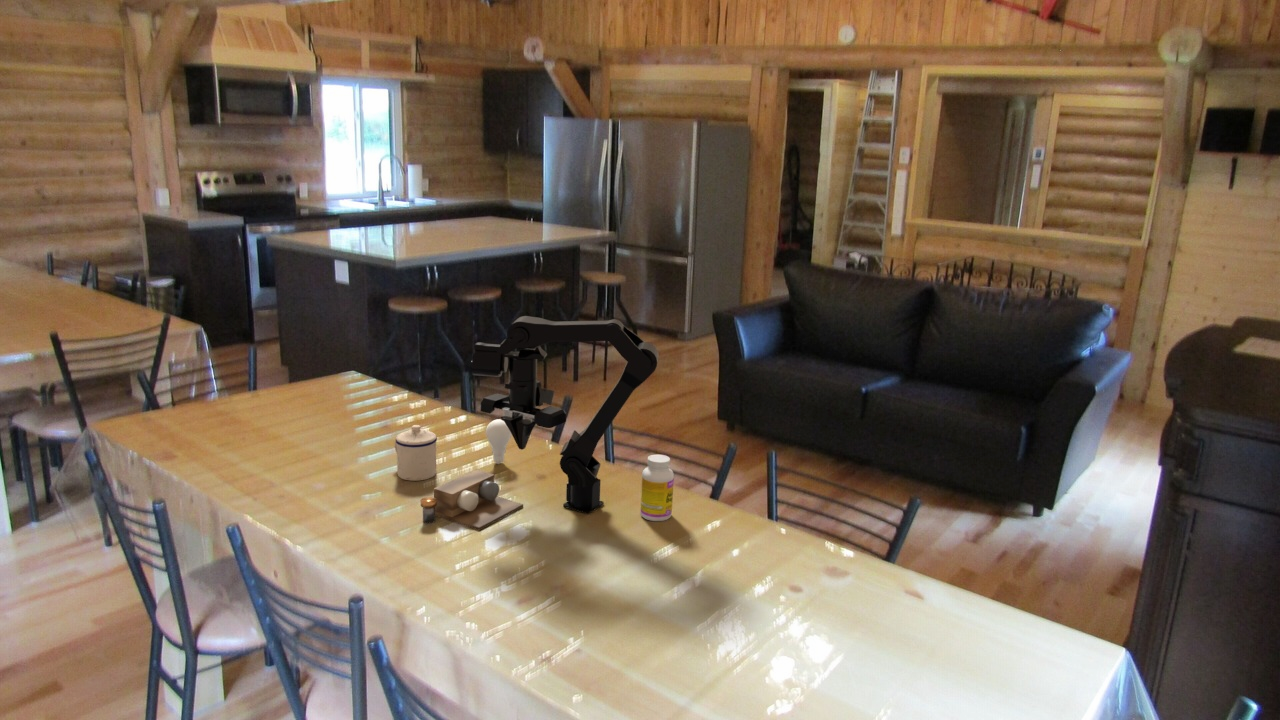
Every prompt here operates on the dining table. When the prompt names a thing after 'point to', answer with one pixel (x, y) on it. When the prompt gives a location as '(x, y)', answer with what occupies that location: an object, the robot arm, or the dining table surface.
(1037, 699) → the dining table surface
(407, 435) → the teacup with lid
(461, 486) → the walnut mount
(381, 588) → the dining table surface
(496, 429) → the lightbulb
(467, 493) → the cream knob
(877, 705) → the dining table surface
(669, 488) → the supplement bottle
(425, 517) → the copper domed knob
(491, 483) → the graphite knob
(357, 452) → the dining table surface
